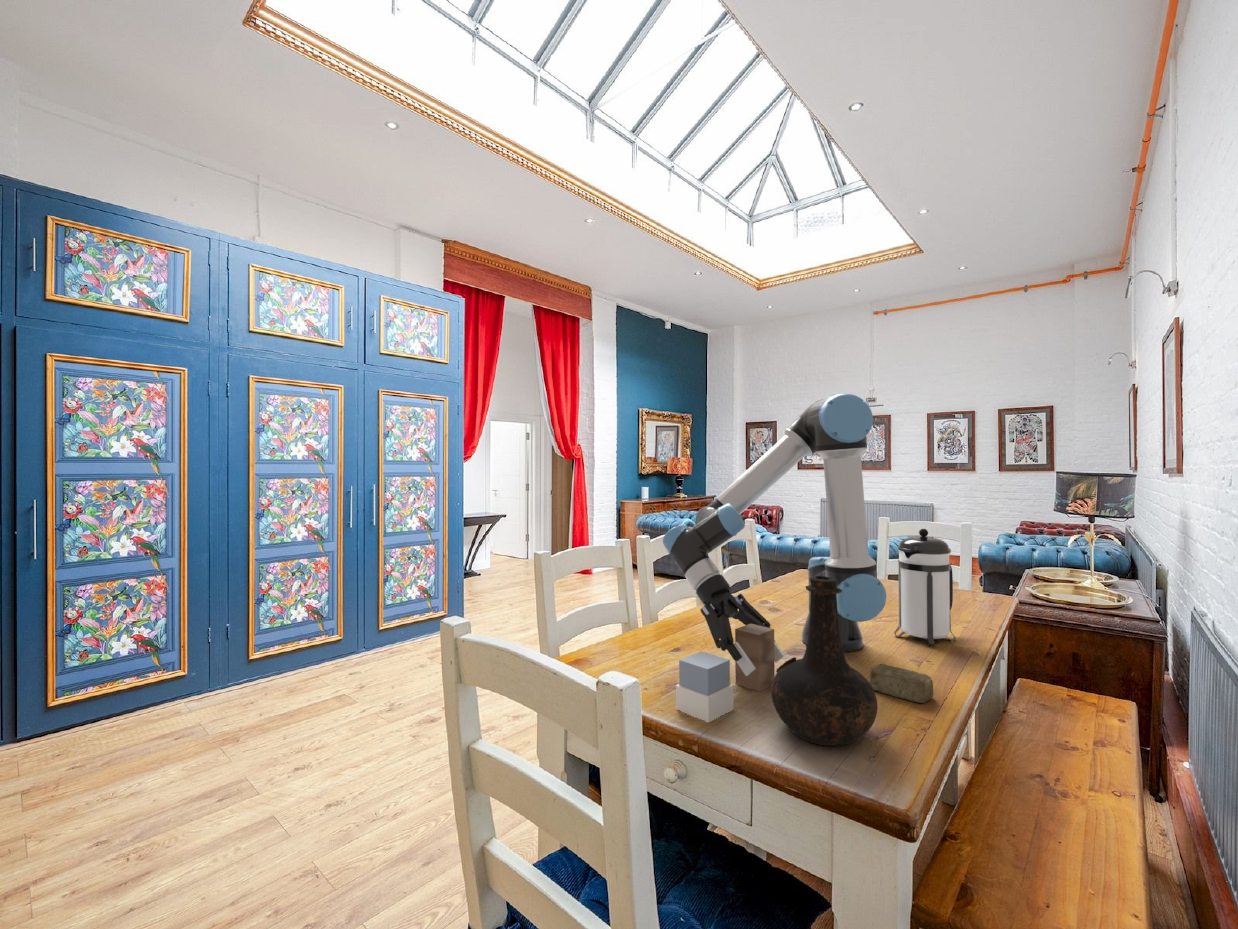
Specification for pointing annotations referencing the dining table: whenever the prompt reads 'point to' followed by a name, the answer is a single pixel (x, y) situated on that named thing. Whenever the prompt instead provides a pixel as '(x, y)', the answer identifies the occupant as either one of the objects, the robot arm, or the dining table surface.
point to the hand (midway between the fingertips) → (766, 665)
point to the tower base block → (705, 702)
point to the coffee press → (925, 588)
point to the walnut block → (756, 656)
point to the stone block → (901, 683)
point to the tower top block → (704, 673)
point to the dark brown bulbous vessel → (824, 680)
